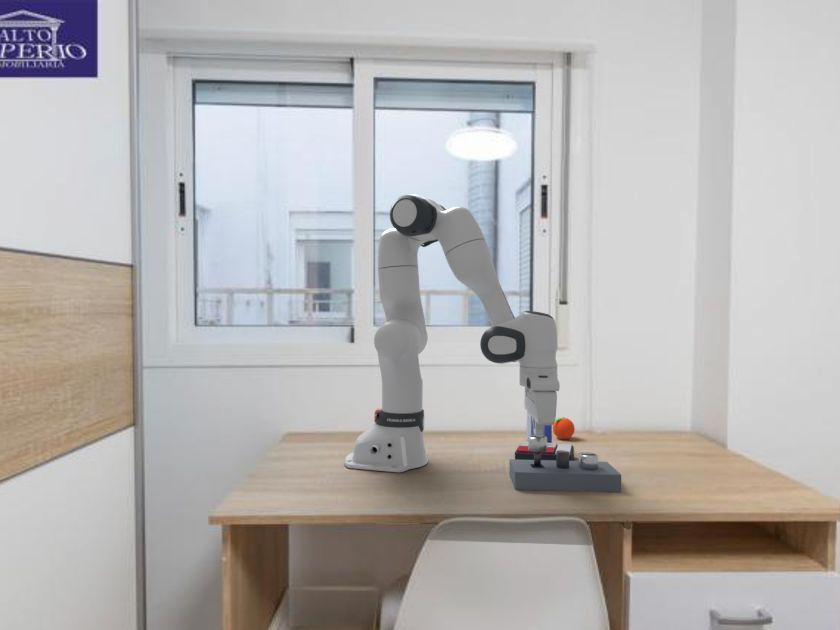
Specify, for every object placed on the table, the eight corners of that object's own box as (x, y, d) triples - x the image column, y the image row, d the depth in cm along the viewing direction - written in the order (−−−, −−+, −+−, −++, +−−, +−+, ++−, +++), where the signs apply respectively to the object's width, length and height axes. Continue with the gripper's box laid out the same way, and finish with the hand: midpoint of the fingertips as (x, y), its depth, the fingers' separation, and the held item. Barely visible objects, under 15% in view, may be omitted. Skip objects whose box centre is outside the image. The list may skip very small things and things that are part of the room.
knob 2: (581, 486, 114) (581, 456, 114) (576, 480, 118) (576, 451, 118) (600, 487, 113) (600, 457, 113) (594, 480, 118) (594, 451, 118)
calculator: (520, 440, 143) (573, 442, 138) (521, 454, 143) (574, 457, 138) (514, 449, 133) (571, 452, 128) (514, 465, 133) (572, 469, 128)
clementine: (559, 442, 154) (559, 420, 154) (545, 437, 160) (545, 416, 160) (579, 440, 157) (579, 418, 157) (564, 435, 163) (564, 414, 163)
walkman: (551, 451, 143) (552, 411, 144) (545, 452, 142) (545, 412, 142) (532, 445, 150) (533, 406, 150) (526, 446, 149) (526, 407, 149)
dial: (557, 468, 115) (557, 453, 115) (555, 464, 118) (555, 449, 118) (570, 468, 114) (570, 453, 114) (567, 464, 118) (567, 449, 118)
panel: (515, 489, 112) (515, 472, 112) (509, 475, 122) (509, 459, 122) (621, 492, 110) (621, 474, 110) (606, 477, 120) (606, 461, 120)
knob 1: (529, 468, 114) (530, 438, 114) (526, 462, 119) (526, 433, 119) (548, 468, 114) (548, 438, 114) (544, 463, 118) (545, 434, 118)
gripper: (518, 373, 127) (518, 426, 127) (532, 384, 107) (532, 447, 106) (543, 373, 127) (543, 426, 127) (561, 384, 106) (561, 447, 106)
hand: (538, 436), depth 116 cm, fingers closed
